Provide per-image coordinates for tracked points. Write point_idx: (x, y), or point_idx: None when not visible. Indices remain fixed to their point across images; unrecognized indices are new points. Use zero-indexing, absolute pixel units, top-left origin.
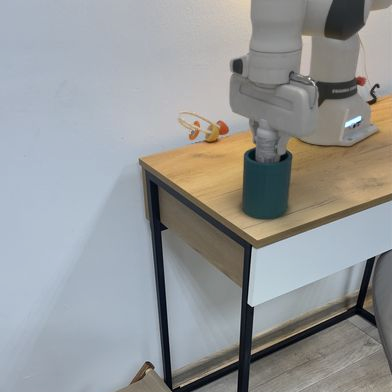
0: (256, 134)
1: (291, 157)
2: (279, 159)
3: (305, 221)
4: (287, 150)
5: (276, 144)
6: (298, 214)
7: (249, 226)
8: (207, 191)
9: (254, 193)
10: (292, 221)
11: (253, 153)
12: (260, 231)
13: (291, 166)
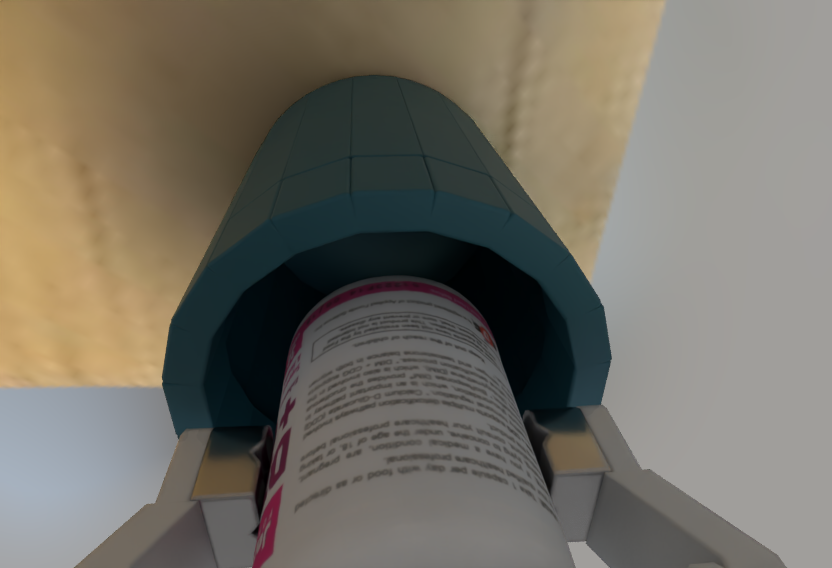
0: (212, 562)
1: (583, 283)
2: (493, 340)
3: (621, 125)
4: (427, 198)
5: (568, 537)
6: (547, 99)
7: None
8: (31, 315)
9: None
10: (572, 178)
11: (219, 401)
12: None
13: (540, 213)
